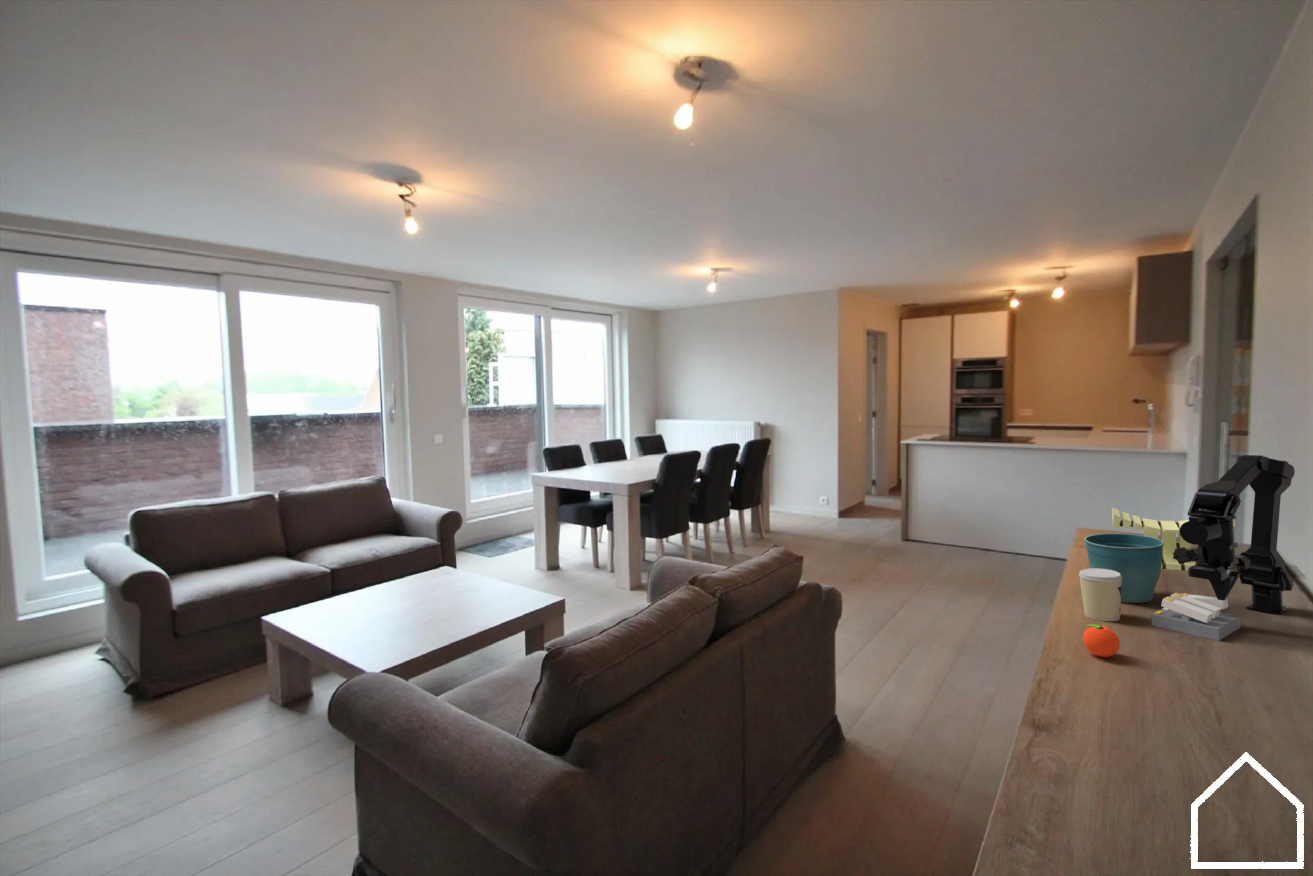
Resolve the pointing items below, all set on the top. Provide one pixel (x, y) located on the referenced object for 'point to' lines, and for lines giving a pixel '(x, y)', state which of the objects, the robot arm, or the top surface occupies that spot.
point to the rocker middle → (1198, 604)
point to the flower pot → (1128, 562)
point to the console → (1196, 624)
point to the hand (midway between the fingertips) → (1221, 600)
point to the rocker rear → (1210, 600)
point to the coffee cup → (1101, 593)
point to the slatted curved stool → (1151, 530)
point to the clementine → (1101, 640)
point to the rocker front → (1187, 609)
